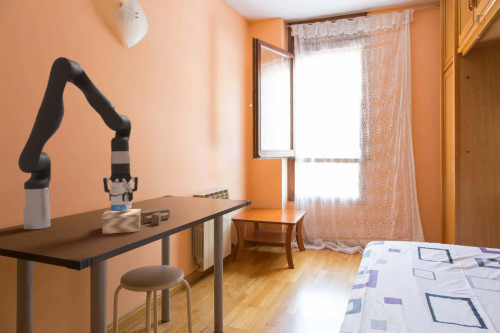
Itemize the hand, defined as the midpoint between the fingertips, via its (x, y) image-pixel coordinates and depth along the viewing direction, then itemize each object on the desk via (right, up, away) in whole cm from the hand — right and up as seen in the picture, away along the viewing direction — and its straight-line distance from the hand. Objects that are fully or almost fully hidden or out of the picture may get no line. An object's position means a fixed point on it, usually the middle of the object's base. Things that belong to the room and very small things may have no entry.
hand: (121, 201), depth 144 cm
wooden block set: (+13, -11, +18) cm, 25 cm away
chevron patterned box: (0, -12, 0) cm, 12 cm away
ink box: (0, -3, 0) cm, 3 cm away
